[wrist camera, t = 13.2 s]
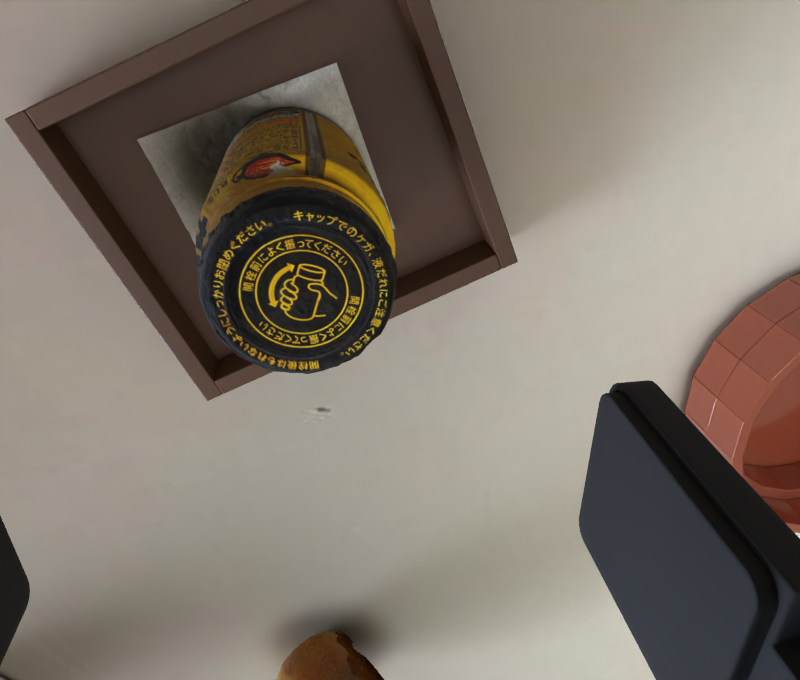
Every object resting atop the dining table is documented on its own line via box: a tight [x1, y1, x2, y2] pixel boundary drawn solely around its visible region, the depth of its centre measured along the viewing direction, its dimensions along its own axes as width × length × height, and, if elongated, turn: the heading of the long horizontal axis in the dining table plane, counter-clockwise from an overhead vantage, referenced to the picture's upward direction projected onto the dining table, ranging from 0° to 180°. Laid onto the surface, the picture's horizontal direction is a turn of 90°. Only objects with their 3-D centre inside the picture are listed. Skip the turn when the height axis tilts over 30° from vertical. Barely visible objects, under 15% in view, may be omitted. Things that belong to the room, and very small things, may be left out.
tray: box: [5, 0, 517, 401], centre depth 26 cm, size 16×14×2 cm
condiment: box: [137, 63, 397, 374], centre depth 21 cm, size 7×8×12 cm
